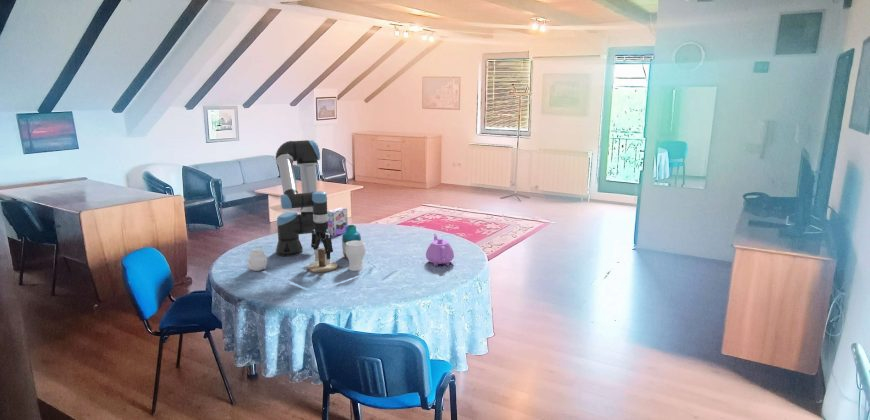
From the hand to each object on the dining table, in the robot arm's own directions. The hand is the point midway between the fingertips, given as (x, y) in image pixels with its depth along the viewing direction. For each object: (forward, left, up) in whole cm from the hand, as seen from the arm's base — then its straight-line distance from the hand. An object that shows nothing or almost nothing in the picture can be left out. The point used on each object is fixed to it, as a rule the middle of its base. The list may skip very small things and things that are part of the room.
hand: (322, 262), depth 284 cm
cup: (+14, +11, -4) cm, 18 cm away
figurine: (-25, -23, -4) cm, 34 cm away
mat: (0, 0, -4) cm, 4 cm away
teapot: (+39, +50, -4) cm, 64 cm away
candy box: (-48, +49, -4) cm, 69 cm away
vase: (-2, +22, -4) cm, 22 cm away
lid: (0, 0, -3) cm, 3 cm away
